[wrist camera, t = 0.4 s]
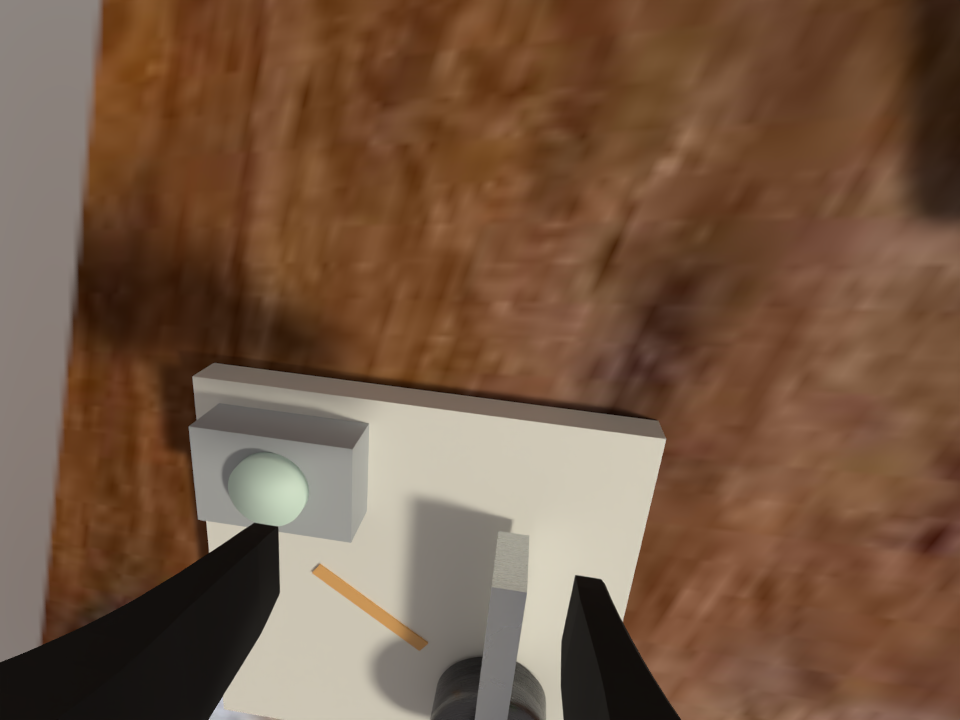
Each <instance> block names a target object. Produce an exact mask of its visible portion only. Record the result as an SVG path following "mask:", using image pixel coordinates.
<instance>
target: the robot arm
mask: <svg viewBox="0 0 960 720" xmlns="http://www.w3.org/2000/svg"><path fill="white" fill-rule="evenodd" d="M279 594H280V570H279V529H278V526H272V525H266V524H260V523H253V524H252V525H250V526H248V527H247V528H245V529H244V530H242V531H241V532H239V533H238V534H236V535H235V536H233V537H232V538H231V539H229V540H228V541H226V542H225V543H223V544H222V545H220V546H219V547H217V548H216V549H214V550H213V551H211V552H210V553H208V554H207V555H205V556H204V557H202V558H201V559H199V560H198V561H196V562H195V563H193V564H192V565H190V566H189V567H187V568H186V569H184V570H183V571H181V572H180V573H178V574H176V575H175V576H173V577H171V578H170V579H168V580H166V581H165V582H163V583H161V584H160V585H158V586H156V587H155V588H153V589H151V590H150V591H148V592H146V593H145V594H143V595H142V596H140V597H138V598H137V599H135V600H133V601H131V602H129V603H128V604H126V605H124V606H122V607H120V608H118V609H117V610H115V611H113V612H111V613H109V614H107V615H105V616H103V617H101V618H99V619H97V620H95V621H93V622H91V623H89V624H87V625H85V626H83V627H81V628H79V629H77V630H75V631H73V632H71V633H68V634H66V635H64V636H62V637H59V638H57V639H55V640H52V641H50V642H48V643H46V644H43V645H41V646H39V647H37V648H34V649H32V650H30V651H28V652H25V653H23V654H20V655H18V656H15V657H13V658H10V659H8V660H5V661H3V662H0V720H208V719H209V718H210V716H211V714H212V713H213V711H214V710H215V708H216V706H217V705H218V703H219V701H220V700H221V698H222V697H223V695H224V693H225V692H226V690H227V689H228V687H229V685H230V684H231V682H232V681H233V679H234V677H235V676H236V674H237V672H238V671H239V669H240V668H241V666H242V664H243V663H244V661H245V660H246V658H247V656H248V655H249V653H250V651H251V650H252V648H253V646H254V645H255V643H256V641H257V640H258V638H259V636H260V635H261V633H262V631H263V629H264V627H265V625H266V623H267V621H268V618H269V616H270V614H271V612H272V610H273V608H274V605H275V603H276V601H277V599H278V596H279ZM561 696H562V708H563V719H564V720H681V719H680V717H679V716H678V714H677V713H676V711H675V710H674V709H673V707H672V706H671V704H670V703H669V701H668V700H667V698H666V697H665V695H664V693H663V692H662V690H661V689H660V687H659V685H658V684H657V682H656V681H655V679H654V677H653V676H652V674H651V672H650V671H649V669H648V667H647V666H646V664H645V662H644V661H643V659H642V657H641V655H640V653H639V652H638V650H637V648H636V646H635V644H634V643H633V641H632V639H631V637H630V635H629V633H628V631H627V630H626V628H625V626H624V624H623V622H622V620H621V618H620V616H619V614H618V612H617V609H616V607H615V605H614V603H613V601H612V599H611V596H610V594H609V592H608V590H607V587H606V585H605V583H604V582H603V581H602V579H598V578H592V577H585V576H579V575H575V578H574V583H573V588H572V593H571V597H570V602H569V607H568V612H567V616H566V621H565V626H564V631H563V635H562V640H561Z"/></svg>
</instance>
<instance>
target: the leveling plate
mask: <svg viewBox="0 0 960 720" xmlns="http://www.w3.org/2000/svg"><path fill="white" fill-rule="evenodd" d="M192 378H193V389H194V399H195V409H196V421H195V422H194V423H192V424H191V425H190V426H189V436H190V445H191V455H192V465H193V475H194V485H195V494H196V504H197V514H198V520H203V521H206V524H207V535H208V545H209V553H210V552H211V551H213V550H214V549H216V548H217V547H219V546H220V545H222V544H223V543H225V542H226V541H228V540H229V539H231V538H232V537H233V536H235V535H236V534H238V533H239V532H241V531H242V530H244V529H245V528H247V527H248V526H250V525H252V524H253V523H260V524H266V525H272V526H278V529H279V570H280V594H279V596H278V599H277V601H276V603H275V605H274V608H273V610H272V612H271V614H270V616H269V618H268V621H267V623H266V625H265V627H264V629H263V631H262V633H261V635H260V636H259V638H258V640H257V641H256V643H255V645H254V646H253V648H252V650H251V651H250V653H249V655H248V656H247V658H246V660H245V661H244V663H243V664H242V666H241V668H240V669H239V671H238V672H237V674H236V676H235V677H234V679H233V681H232V682H231V684H230V685H229V687H228V689H227V690H226V692H225V693H224V695H223V702H224V709H226V710H231V711H237V712H243V713H248V714H254V715H260V716H266V717H271V718H277V719H283V720H430V717H431V712H432V708H433V703H434V698H435V693H436V688H437V684H438V681H439V679H440V677H441V675H442V674H443V673H444V672H445V670H447V669H448V668H449V667H450V666H452V665H453V664H455V663H457V662H459V661H462V660H465V659H468V658H473V657H483V649H484V641H485V633H486V625H487V617H488V609H489V602H490V594H491V586H492V578H493V570H494V562H495V554H496V546H497V538H498V531H502V532H509V533H515V534H522V535H529V558H528V583H527V596H526V603H525V609H524V616H523V622H522V629H521V635H520V641H519V648H518V654H517V661H516V664H518V665H520V666H521V667H523V668H525V669H526V670H527V671H529V672H530V673H531V674H532V675H533V676H534V677H535V678H536V679H537V680H538V681H539V683H540V684H541V686H542V688H543V690H544V693H545V697H546V720H564V719H563V708H562V696H561V640H562V635H563V631H564V626H565V621H566V616H567V612H568V607H569V602H570V597H571V593H572V588H573V583H574V578H575V575H579V576H585V577H592V578H598V579H602V581H603V582H604V583H605V585H606V587H607V590H608V592H609V594H610V596H611V599H612V601H613V603H614V605H615V607H616V609H617V612H618V614H619V616H620V618H621V620H622V622H623V618H624V614H625V610H626V605H627V601H628V597H629V593H630V589H631V584H632V580H633V576H634V572H635V568H636V563H637V559H638V555H639V551H640V547H641V542H642V538H643V534H644V530H645V526H646V521H647V517H648V513H649V509H650V505H651V500H652V496H653V492H654V488H655V484H656V479H657V475H658V471H659V467H660V463H661V458H662V454H663V450H664V446H665V442H666V438H665V435H664V433H663V431H662V428H661V426H660V424H659V421H656V420H648V419H640V418H633V417H625V416H617V415H610V414H602V413H594V412H587V411H579V410H572V409H564V408H556V407H549V406H541V405H533V404H526V403H518V402H510V401H503V400H495V399H487V398H480V397H472V396H464V395H457V394H449V393H441V392H434V391H426V390H418V389H411V388H403V387H395V386H388V385H380V384H372V383H365V382H357V381H349V380H342V379H334V378H326V377H319V376H311V375H303V374H296V373H288V372H280V371H273V370H265V369H257V368H250V367H242V366H234V365H227V364H219V363H213V364H211V365H210V366H208V367H206V368H205V369H203V370H202V371H200V372H198V373H197V374H195V375H194V376H192Z"/></svg>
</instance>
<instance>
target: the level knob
mask: <svg viewBox="0 0 960 720" xmlns="http://www.w3.org/2000/svg"><path fill="white" fill-rule="evenodd" d="M528 558H529V535H522V534H515V533H509V532H502V531H498V538H497V546H496V554H495V562H494V570H493V578H492V586H491V594H490V602H489V609H488V617H487V625H486V633H485V641H484V649H483V657H473V658H468V659H465V660H462V661H459V662H457V663H455V664H453V665H452V666H450V667H449V668H448V669H447V670H445V672H444V673H443V674H442V675H441V677H440V679H439V681H438V684H437V688H436V693H435V698H434V703H433V708H432V712H431V717H430V720H546V697H545V693H544V690H543V688H542V686H541V684H540V683H539V681H538V680H537V679H536V678H535V677H534V676H533V675H532V674H531V673H530V672H529V671H527V670H526V669H525V668H523V667H521V666H520V665H518V664H516V661H517V654H518V648H519V641H520V635H521V629H522V622H523V616H524V609H525V603H526V596H527V583H528Z"/></svg>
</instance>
